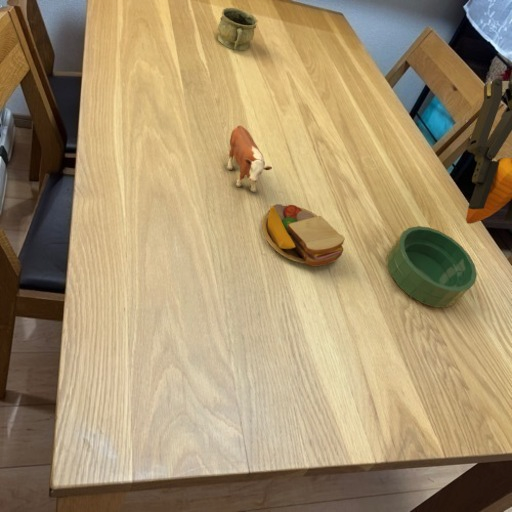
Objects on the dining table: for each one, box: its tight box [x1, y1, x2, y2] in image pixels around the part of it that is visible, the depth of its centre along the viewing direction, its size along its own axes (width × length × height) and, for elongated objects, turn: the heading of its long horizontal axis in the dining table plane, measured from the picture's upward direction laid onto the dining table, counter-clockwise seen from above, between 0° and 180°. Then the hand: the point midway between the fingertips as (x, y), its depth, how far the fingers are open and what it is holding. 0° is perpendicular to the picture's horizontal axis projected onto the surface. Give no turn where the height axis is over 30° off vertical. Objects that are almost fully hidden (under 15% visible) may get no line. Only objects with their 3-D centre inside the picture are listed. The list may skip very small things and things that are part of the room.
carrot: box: [465, 157, 512, 224], centre depth 69 cm, size 5×5×15 cm
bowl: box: [386, 225, 478, 308], centre depth 81 cm, size 14×14×5 cm
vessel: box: [217, 7, 258, 51], centre depth 117 cm, size 12×9×6 cm
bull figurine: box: [226, 124, 273, 193], centre depth 83 cm, size 4×13×8 cm, turn 15°
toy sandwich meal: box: [261, 203, 346, 267], centre depth 78 cm, size 12×14×5 cm
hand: (494, 214), depth 68 cm, fingers closed on carrot, 5 cm apart
